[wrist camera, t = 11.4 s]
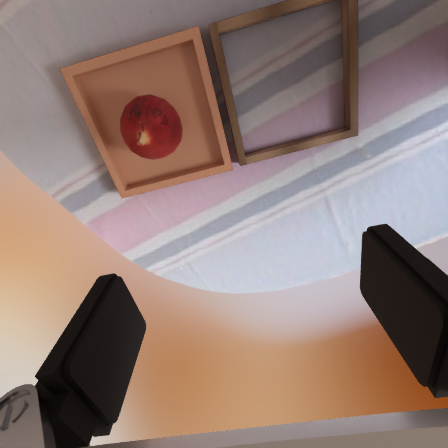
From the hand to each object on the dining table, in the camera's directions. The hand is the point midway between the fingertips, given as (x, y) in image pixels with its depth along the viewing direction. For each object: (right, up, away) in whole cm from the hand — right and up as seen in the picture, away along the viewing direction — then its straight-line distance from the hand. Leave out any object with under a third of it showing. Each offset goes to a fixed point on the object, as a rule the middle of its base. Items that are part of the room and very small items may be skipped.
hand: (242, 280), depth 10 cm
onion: (-8, +13, +18) cm, 24 cm away
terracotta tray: (-8, +14, +19) cm, 25 cm away
